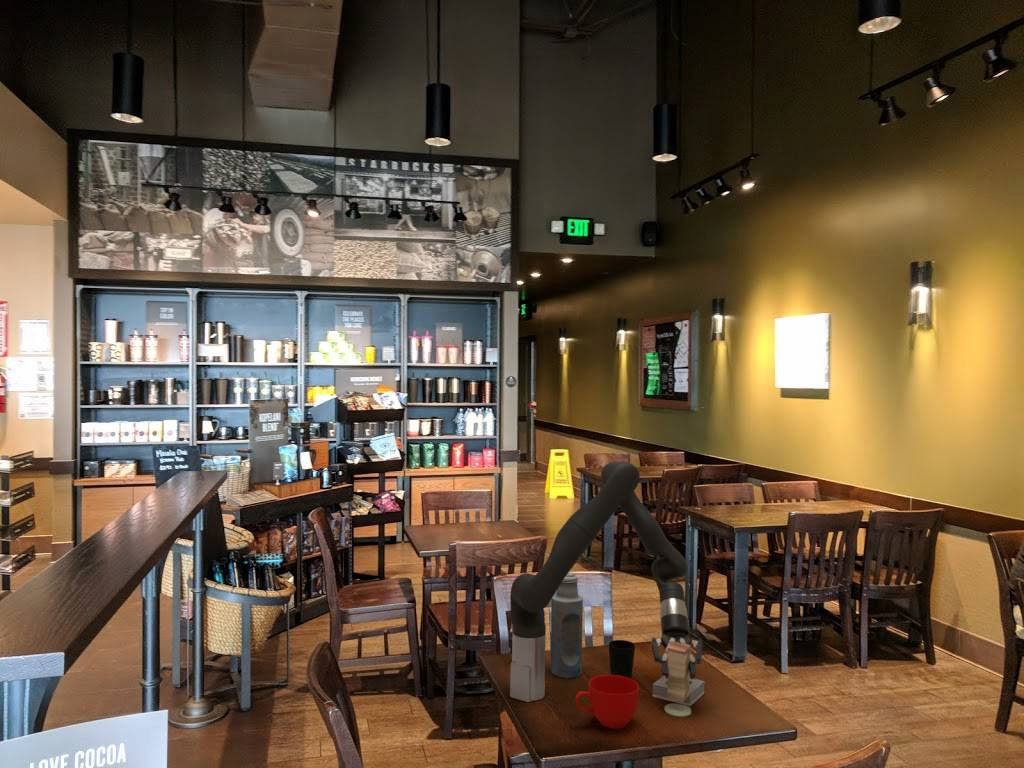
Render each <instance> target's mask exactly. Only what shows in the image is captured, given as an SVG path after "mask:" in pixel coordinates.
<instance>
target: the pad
mask: <svg viewBox="0 0 1024 768" xmlns="http://www.w3.org/2000/svg"><path fill="white" fill-rule="evenodd" d="M664 711H665V713H666V714H668V715H670V716H672V717H679V718H685V717H689V716H690V715H692V708H691V707H690V706H687V705H683V704H680V703H676V702H672V703H668V704H666V705H664Z"/></svg>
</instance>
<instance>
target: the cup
mask: <svg viewBox="0 0 1024 768" xmlns="http://www.w3.org/2000/svg"><path fill="white" fill-rule="evenodd" d="M635 649H636V645H635V643H634V642H632V641H630V640H625V639H614V640H611V641H609V642H608V654H609V669H610V675H619V676H624V677H627V678H630V679H632V678H633V668H634V659H635V651H636V650H635ZM632 680H633V679H632Z"/></svg>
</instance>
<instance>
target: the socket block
mask: <svg viewBox="0 0 1024 768" xmlns="http://www.w3.org/2000/svg"><path fill="white" fill-rule="evenodd" d="M667 685H668V678H665V676H663V675H662V677H660V678H659V679H657V680H656V681H655V682H654V683H652V697H653V698H658V699H662V700H665V701H669V702H672V703H676V704H683V705H686V706H688V707H691V706H692V705H693V704H694V703H695V702H697V701H698V700H699V699H700V698H701V697H702V696H703V695H704V694H705V681H704V680H701V679H697V678H693V679H690V677H689V696H688V697H687V698H686V699H685V701H684V702H682V701H678V700H675V699H671V698H667Z"/></svg>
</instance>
